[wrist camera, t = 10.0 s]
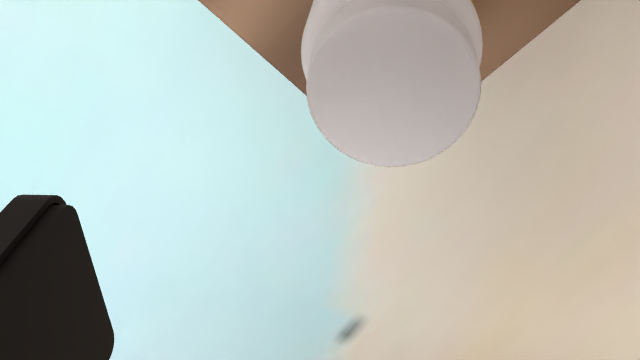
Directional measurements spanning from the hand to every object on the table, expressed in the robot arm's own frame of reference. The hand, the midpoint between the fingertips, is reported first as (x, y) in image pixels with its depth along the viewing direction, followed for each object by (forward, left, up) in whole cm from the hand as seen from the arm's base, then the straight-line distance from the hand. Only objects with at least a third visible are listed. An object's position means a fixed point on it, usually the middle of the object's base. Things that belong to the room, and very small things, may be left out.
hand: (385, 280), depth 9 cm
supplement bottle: (0, 0, -14) cm, 14 cm away
